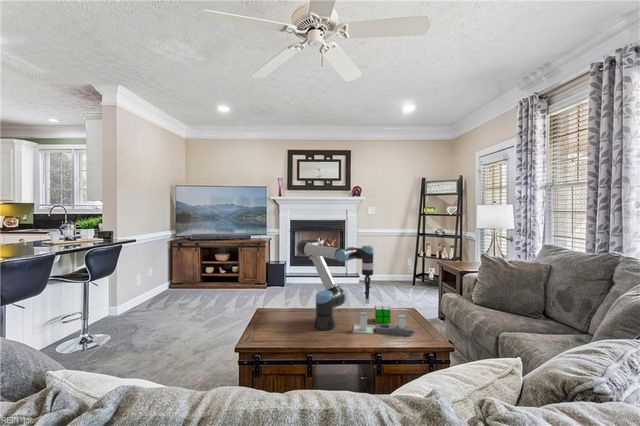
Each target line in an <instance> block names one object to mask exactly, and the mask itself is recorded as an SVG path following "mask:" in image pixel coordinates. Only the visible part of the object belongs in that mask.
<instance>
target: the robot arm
mask: <svg viewBox="0 0 640 426" xmlns="http://www.w3.org/2000/svg"><path fill="white" fill-rule="evenodd" d="M296 251H297V253H298V254H299V255H301V256H307V257H308V259H309V260H311V261H312V263H313V265H314V267H315V269H316V271H317V274H318V276H319V278H320V280H321V283H322V285H323V288H324V290H320V291H318V292H317V293H316V295H315V317H314V321H313V328H314V329H315V330H319V331H331V330H333V329H335V328H336V321H335V317H334V311H333V309H335V308H337V307H340V306H342V305H344V304H345V303H346V301H347V293H346V291H345V290H344V289H343V288H341V287H340V285H339V284H338V283H336V282H335V280H334V278H333V275H332V273H331V271H330V269H329V267H328V264H327V262H326V260H325V258H327V259H331V260H332V259H333V260H337V261H338V262H347V261H350V260H351V261H352V260H361V275H362V276H364V286H365V287H364V288H365V291H364V292H363V294H364V305H365V304H367V305H369V304H370V288H371V286H370V284H371V277H372V276H373V275H374V266H375V264H374V247H373V246H372V245H362V246H361V247H353V246H352V247H349V246H348V247H347V248H339V247H332V246H325V245H323V243H322V241H321V240H320V239H318V238H308V239H307V238H306V239H302V240H301V239H300V241H299V242H298V243H296ZM370 276H371V277H370Z"/></svg>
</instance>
